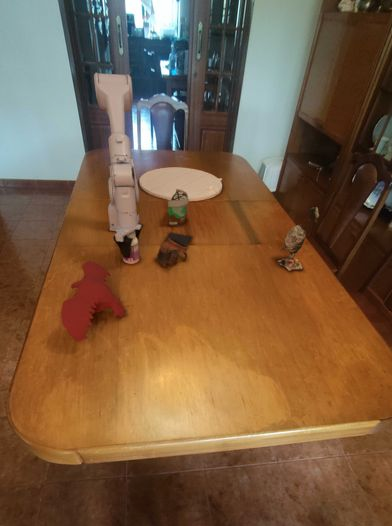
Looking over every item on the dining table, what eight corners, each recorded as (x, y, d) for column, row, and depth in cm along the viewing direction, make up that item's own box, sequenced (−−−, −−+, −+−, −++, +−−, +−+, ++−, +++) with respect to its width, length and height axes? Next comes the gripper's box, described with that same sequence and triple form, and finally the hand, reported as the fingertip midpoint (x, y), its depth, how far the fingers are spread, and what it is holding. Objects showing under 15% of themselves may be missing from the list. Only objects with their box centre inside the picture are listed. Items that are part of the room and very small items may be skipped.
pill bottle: (119, 261, 102) (116, 233, 95) (127, 254, 106) (125, 226, 99) (134, 266, 101) (132, 237, 94) (142, 258, 105) (140, 230, 98)
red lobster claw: (119, 294, 98) (78, 260, 89) (140, 279, 93) (99, 242, 85) (96, 364, 78) (42, 329, 70) (121, 349, 74) (66, 310, 65)
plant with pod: (294, 254, 113) (313, 196, 98) (305, 272, 105) (327, 212, 90) (272, 254, 112) (288, 196, 97) (281, 272, 104) (300, 212, 90)
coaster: (163, 243, 112) (163, 243, 112) (169, 233, 117) (169, 232, 117) (185, 247, 111) (185, 246, 111) (190, 237, 117) (190, 236, 116)
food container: (183, 230, 120) (184, 203, 113) (168, 227, 120) (168, 200, 113) (190, 216, 128) (192, 190, 121) (176, 214, 129) (176, 188, 122)
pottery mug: (152, 256, 107) (162, 233, 104) (177, 267, 111) (188, 245, 108) (157, 267, 97) (168, 242, 94) (184, 278, 101) (196, 255, 98)
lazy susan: (237, 183, 156) (238, 176, 154) (194, 209, 133) (195, 201, 130) (171, 164, 169) (171, 157, 167) (122, 185, 146) (121, 176, 143)
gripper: (130, 222, 86) (134, 265, 96) (147, 201, 96) (149, 243, 106) (105, 218, 87) (112, 261, 97) (125, 198, 97) (129, 239, 107)
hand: (130, 251), depth 101 cm, fingers open, 6 cm apart
